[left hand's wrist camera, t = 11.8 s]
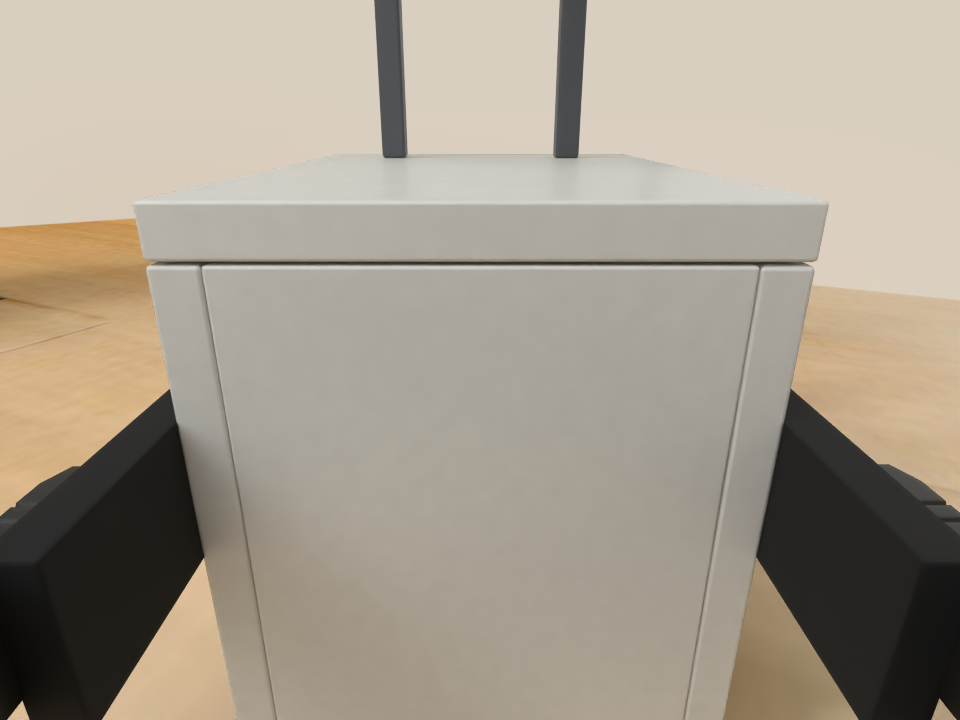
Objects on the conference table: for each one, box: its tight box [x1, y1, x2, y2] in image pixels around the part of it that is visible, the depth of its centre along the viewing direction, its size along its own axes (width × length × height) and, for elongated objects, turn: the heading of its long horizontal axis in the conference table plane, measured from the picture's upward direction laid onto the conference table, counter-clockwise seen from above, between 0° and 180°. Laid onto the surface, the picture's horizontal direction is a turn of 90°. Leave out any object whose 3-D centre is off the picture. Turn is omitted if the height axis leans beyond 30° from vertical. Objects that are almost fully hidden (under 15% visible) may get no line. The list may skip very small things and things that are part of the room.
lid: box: [133, 0, 828, 262], centre depth 14 cm, size 13×10×9 cm
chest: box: [146, 262, 814, 720], centre depth 17 cm, size 13×10×11 cm
